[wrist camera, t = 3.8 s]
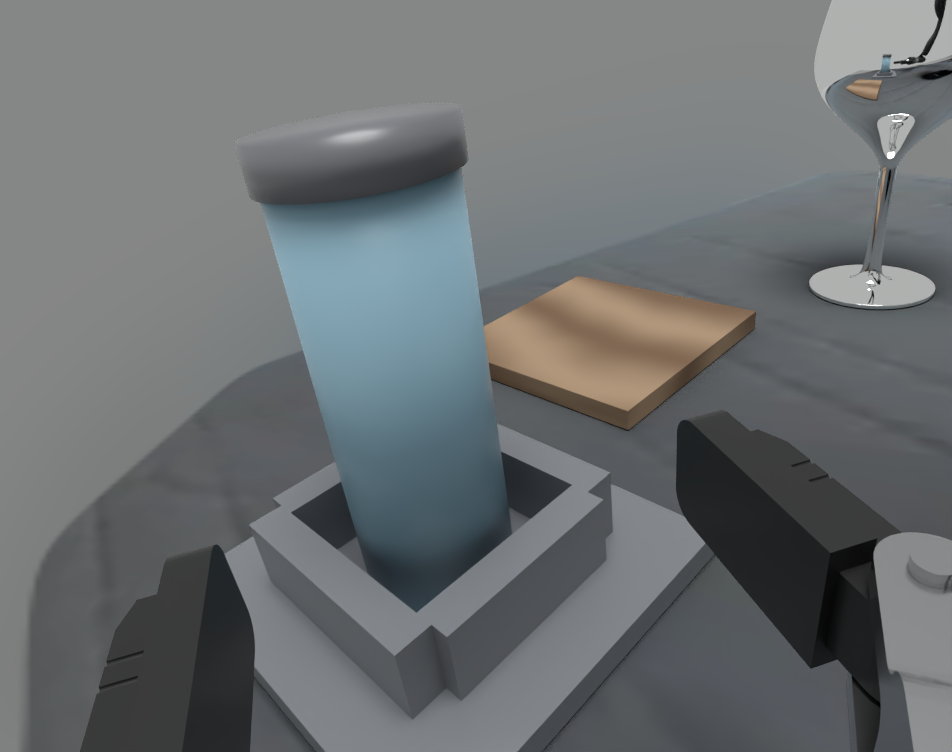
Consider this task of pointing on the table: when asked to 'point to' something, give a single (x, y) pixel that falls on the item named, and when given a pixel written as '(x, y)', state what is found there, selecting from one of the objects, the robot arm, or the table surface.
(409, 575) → the filter cartridge
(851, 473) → the table surface
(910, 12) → the wineglass
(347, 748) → the cartridge housing
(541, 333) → the light brown wooden board
